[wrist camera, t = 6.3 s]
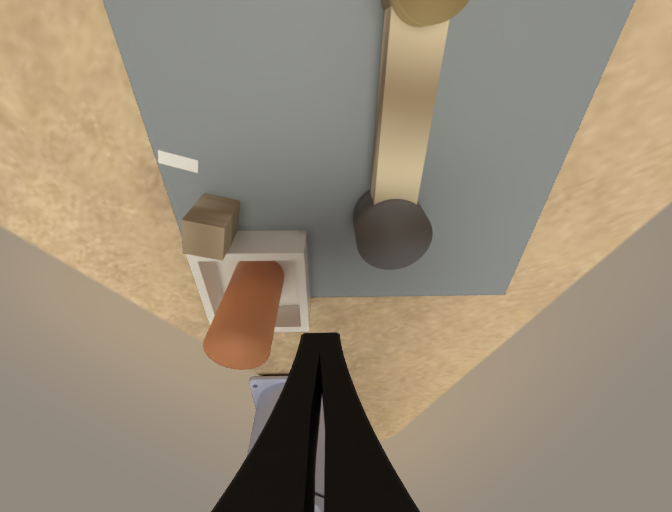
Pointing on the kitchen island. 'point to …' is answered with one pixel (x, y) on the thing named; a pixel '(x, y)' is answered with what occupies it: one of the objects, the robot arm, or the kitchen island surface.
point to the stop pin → (246, 316)
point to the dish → (261, 247)
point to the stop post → (210, 226)
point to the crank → (403, 132)
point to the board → (366, 123)
